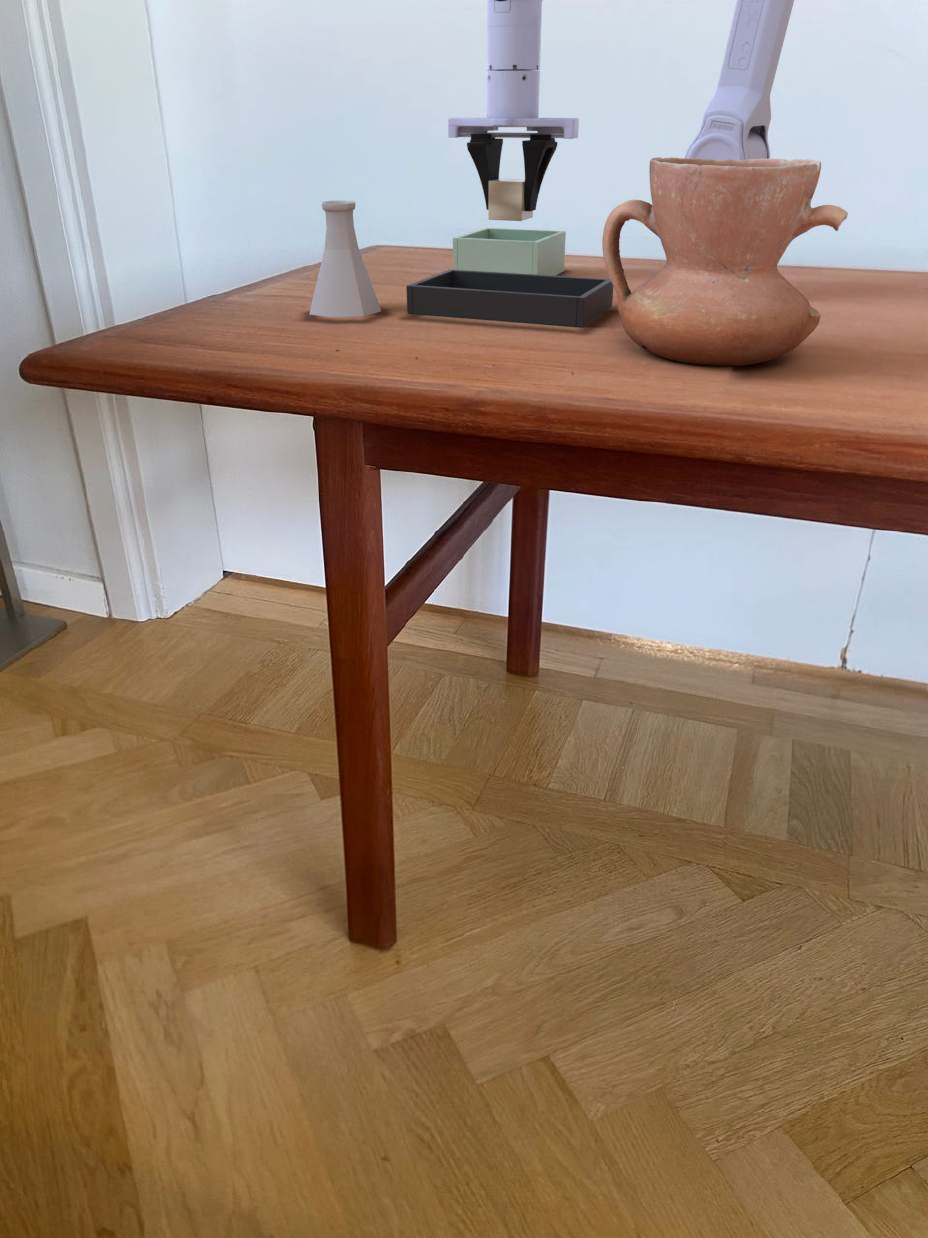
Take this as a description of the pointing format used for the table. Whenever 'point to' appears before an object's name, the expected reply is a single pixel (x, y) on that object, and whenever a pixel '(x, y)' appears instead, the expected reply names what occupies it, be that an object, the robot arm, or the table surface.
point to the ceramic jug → (720, 259)
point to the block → (507, 200)
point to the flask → (342, 269)
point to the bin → (510, 251)
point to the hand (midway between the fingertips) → (510, 209)
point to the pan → (511, 297)
